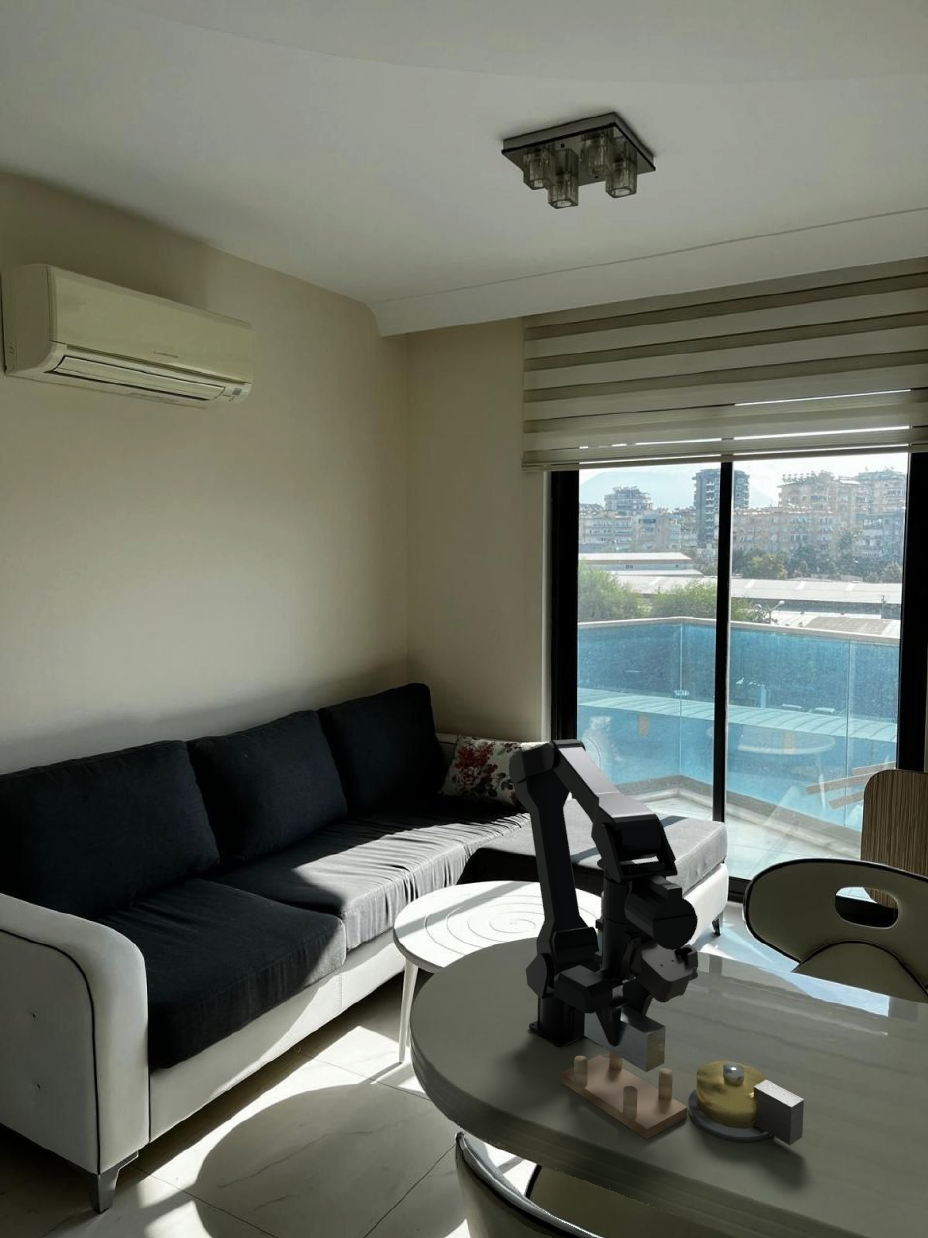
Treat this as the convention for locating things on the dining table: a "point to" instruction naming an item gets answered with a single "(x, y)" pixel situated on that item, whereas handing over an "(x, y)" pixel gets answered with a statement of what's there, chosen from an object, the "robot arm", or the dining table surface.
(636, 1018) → the long grey slab
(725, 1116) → the brass disc with block
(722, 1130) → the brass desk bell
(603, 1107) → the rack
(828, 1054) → the dining table surface
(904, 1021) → the dining table surface
